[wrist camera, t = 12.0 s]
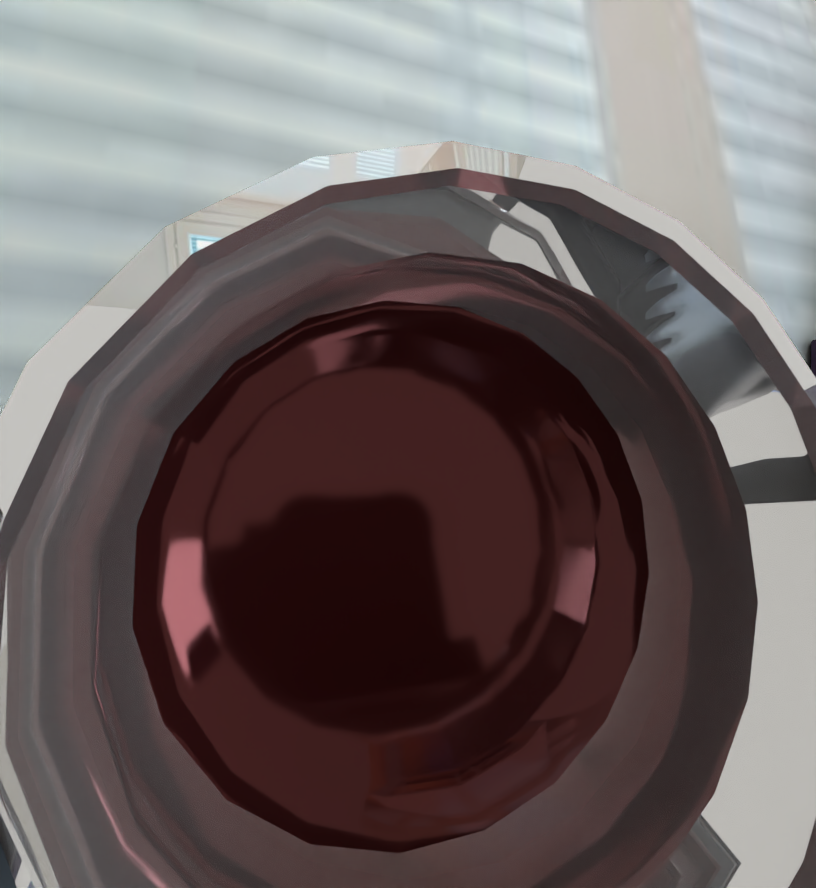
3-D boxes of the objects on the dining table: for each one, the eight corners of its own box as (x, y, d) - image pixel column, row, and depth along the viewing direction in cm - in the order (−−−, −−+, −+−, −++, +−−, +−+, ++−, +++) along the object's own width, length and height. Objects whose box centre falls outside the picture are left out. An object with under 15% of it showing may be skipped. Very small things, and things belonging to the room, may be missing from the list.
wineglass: (474, 508, 15) (982, 552, 4) (349, 658, 14) (614, 1548, 2) (345, 382, 15) (505, -18, 3) (198, 522, 13) (-617, 743, 1)
